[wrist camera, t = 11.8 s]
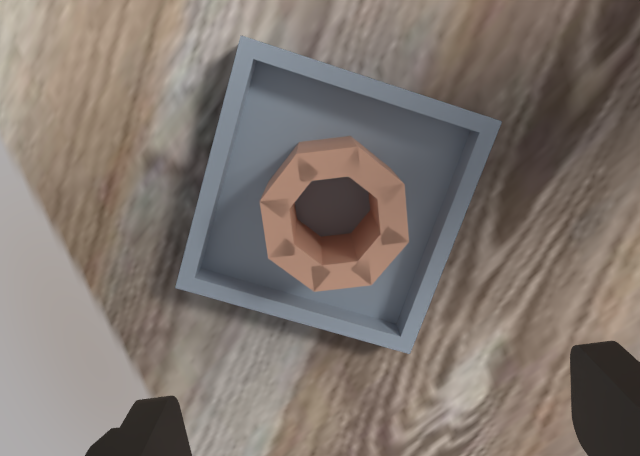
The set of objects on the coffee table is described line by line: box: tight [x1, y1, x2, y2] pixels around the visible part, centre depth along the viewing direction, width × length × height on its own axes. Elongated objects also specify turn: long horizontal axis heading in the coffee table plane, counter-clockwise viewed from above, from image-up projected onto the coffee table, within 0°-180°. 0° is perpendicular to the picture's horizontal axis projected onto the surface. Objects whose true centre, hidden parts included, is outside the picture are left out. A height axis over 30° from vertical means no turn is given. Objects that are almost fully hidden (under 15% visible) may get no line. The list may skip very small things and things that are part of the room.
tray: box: [175, 36, 502, 354], centre depth 27 cm, size 13×13×2 cm
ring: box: [260, 136, 409, 292], centre depth 25 cm, size 6×6×4 cm
